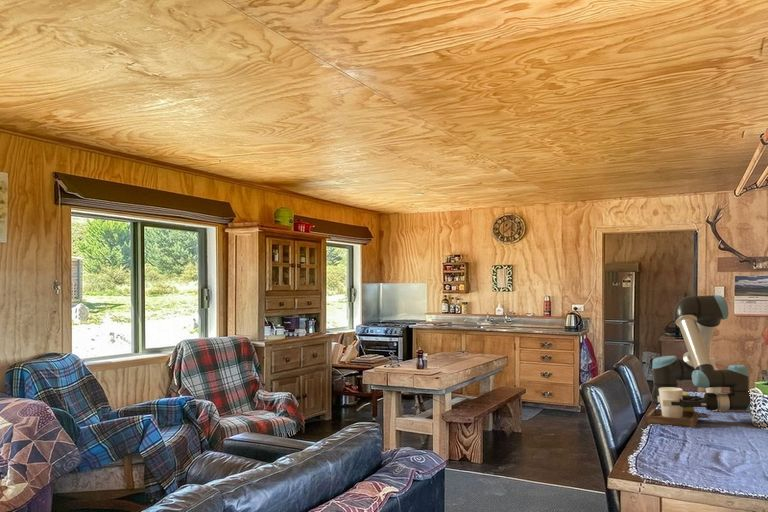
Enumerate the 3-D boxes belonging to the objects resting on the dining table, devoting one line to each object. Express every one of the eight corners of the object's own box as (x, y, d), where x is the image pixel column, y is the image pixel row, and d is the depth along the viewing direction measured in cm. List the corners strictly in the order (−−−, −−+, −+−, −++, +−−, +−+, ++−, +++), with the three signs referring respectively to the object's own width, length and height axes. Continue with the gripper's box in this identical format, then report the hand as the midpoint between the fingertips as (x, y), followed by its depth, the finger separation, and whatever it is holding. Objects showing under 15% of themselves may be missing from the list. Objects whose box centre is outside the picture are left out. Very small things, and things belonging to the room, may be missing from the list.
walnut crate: (653, 416, 273) (653, 408, 273) (698, 419, 263) (697, 411, 263) (646, 424, 257) (646, 416, 258) (693, 428, 247) (693, 419, 248)
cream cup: (687, 418, 255) (685, 390, 255) (663, 418, 257) (661, 390, 257) (681, 414, 264) (679, 387, 265) (657, 413, 266) (655, 387, 267)
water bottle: (702, 410, 283) (699, 358, 284) (712, 408, 286) (709, 356, 287) (716, 412, 276) (713, 359, 278) (726, 411, 279) (723, 358, 281)
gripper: (724, 415, 246) (666, 414, 251) (708, 405, 267) (655, 405, 272) (723, 397, 246) (665, 396, 252) (707, 388, 267) (654, 388, 273)
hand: (660, 401), depth 262 cm, fingers closed on cream cup, 9 cm apart
